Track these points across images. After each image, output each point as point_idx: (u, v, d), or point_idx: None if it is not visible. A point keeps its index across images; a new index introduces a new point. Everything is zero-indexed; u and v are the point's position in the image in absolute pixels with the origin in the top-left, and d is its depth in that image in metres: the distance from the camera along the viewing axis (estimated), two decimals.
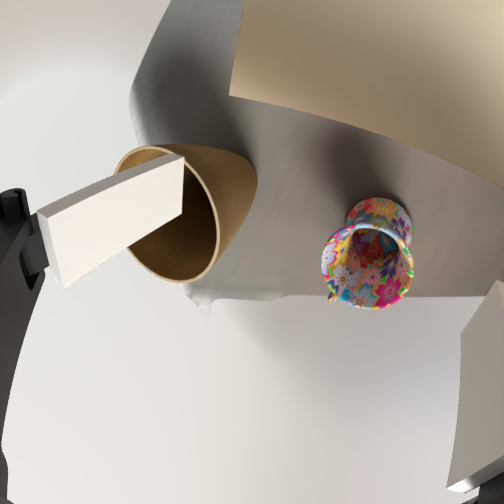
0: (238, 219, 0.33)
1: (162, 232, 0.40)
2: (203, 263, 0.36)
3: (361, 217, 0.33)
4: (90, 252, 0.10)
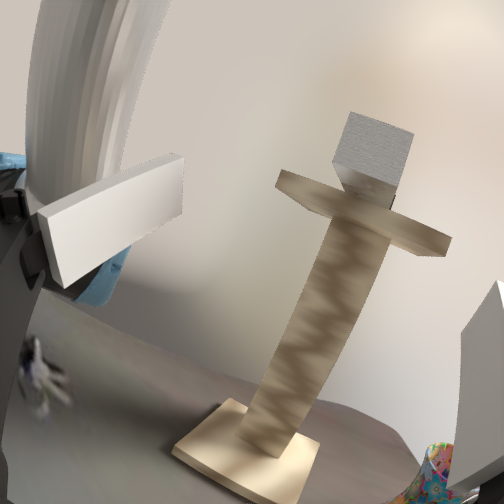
0: None
1: None
2: None
3: None
4: (90, 252, 0.10)
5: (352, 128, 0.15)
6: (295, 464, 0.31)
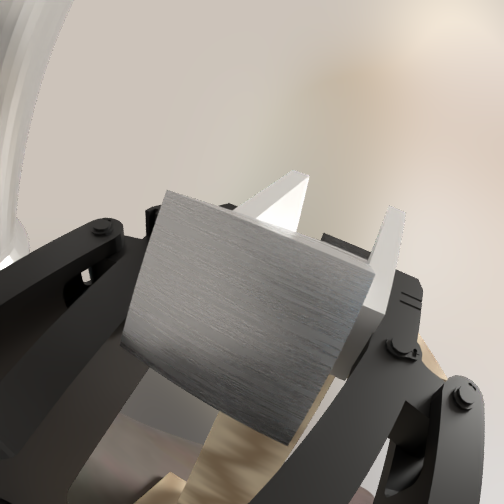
0: None
1: None
2: None
3: None
4: None
5: (167, 249, 0.05)
6: None
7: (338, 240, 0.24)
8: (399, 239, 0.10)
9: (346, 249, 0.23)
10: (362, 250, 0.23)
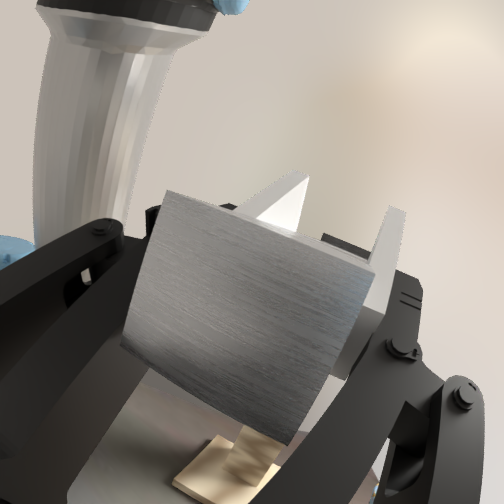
0: None
1: None
2: None
3: None
4: None
5: (167, 249, 0.05)
6: None
7: (338, 240, 0.24)
8: (399, 239, 0.10)
9: (346, 249, 0.23)
10: (362, 250, 0.23)
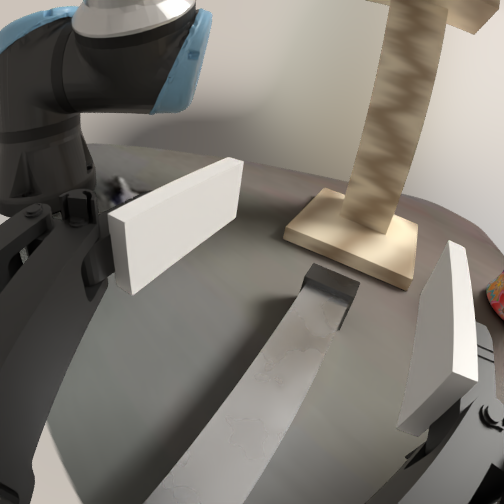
0: None
1: None
2: None
3: None
4: (159, 257, 0.10)
5: None
6: (402, 240, 0.35)
7: (320, 283, 0.23)
8: (469, 284, 0.08)
9: (328, 292, 0.23)
10: (344, 294, 0.23)
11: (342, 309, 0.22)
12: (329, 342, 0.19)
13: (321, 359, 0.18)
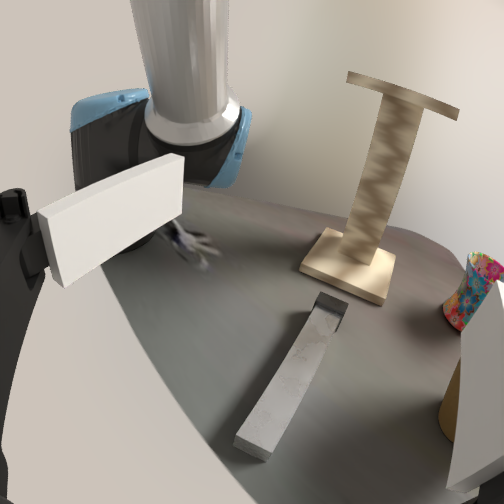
0: None
1: None
2: None
3: (463, 302, 0.41)
4: (90, 252, 0.10)
5: (238, 440, 0.25)
6: (381, 269, 0.51)
7: (324, 304, 0.39)
8: None
9: (329, 309, 0.39)
10: (338, 311, 0.38)
11: (337, 320, 0.38)
12: (330, 338, 0.35)
13: (325, 348, 0.34)
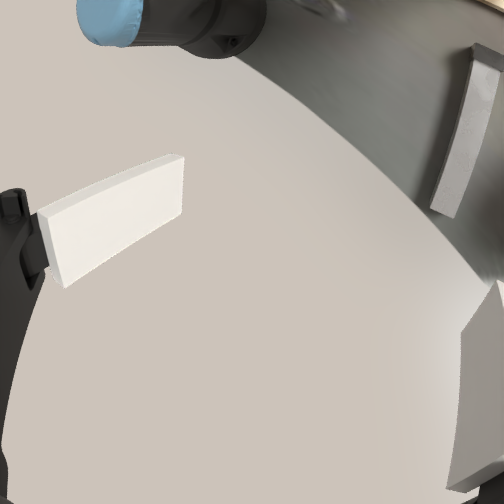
0: None
1: None
2: None
3: None
4: (90, 252, 0.10)
5: None
6: None
7: (482, 61, 0.24)
8: None
9: (488, 65, 0.24)
10: (497, 68, 0.23)
11: (497, 77, 0.24)
12: (492, 104, 0.26)
13: (488, 116, 0.27)
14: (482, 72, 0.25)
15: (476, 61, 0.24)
